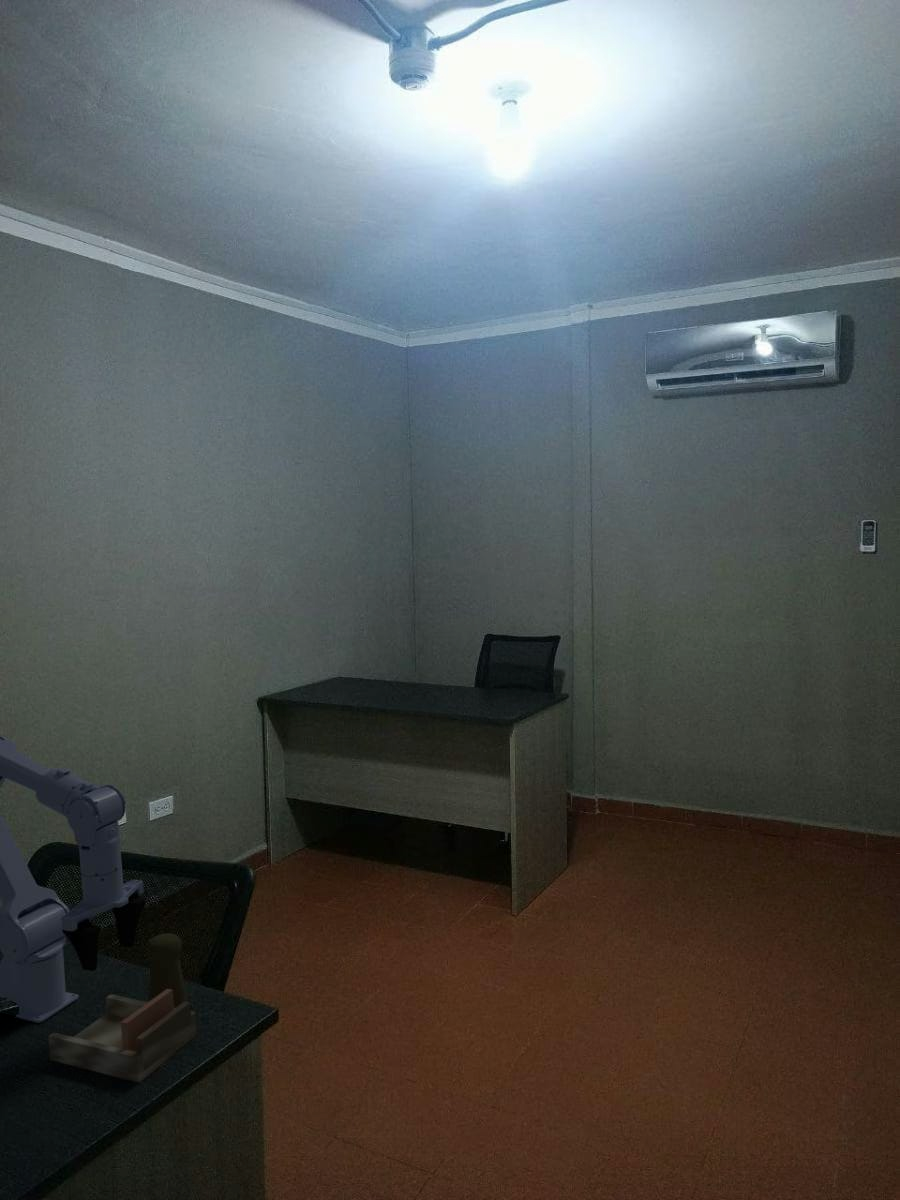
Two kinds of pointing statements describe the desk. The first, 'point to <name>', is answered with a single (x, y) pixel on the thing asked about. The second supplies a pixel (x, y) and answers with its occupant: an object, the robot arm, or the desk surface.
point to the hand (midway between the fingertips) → (108, 957)
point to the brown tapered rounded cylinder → (166, 967)
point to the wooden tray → (104, 1041)
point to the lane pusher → (145, 1018)
